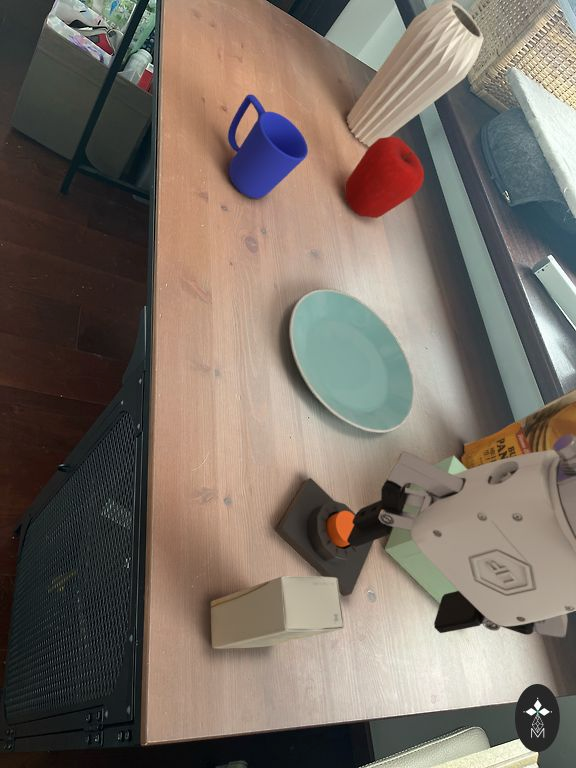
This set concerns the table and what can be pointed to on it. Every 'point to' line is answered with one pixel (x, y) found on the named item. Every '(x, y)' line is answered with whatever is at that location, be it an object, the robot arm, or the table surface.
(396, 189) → the apple
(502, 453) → the pancake mix bag
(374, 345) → the plate
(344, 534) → the button
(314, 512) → the block
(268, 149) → the mug
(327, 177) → the table surface
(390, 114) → the vase
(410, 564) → the mint green storage bin
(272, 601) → the cosmetic box
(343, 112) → the table surface
